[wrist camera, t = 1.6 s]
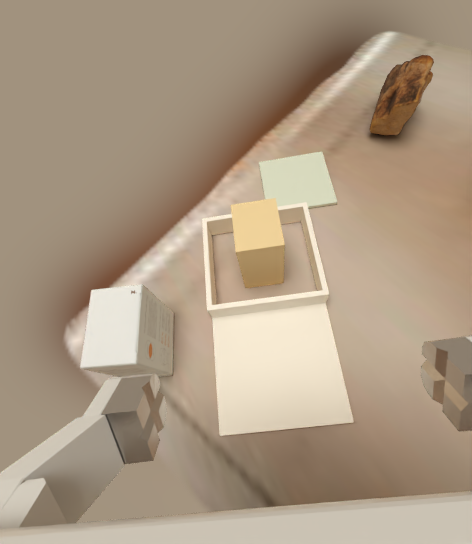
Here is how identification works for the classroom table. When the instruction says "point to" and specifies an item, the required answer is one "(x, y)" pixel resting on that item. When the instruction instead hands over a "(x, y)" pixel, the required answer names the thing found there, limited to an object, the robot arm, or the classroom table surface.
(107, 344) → the small box
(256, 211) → the block
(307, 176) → the sage mat
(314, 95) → the classroom table surface
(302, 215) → the box
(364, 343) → the classroom table surface
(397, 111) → the decorative rock
